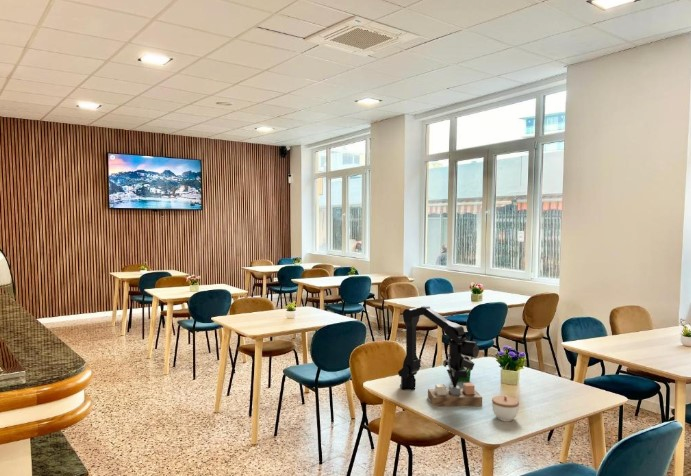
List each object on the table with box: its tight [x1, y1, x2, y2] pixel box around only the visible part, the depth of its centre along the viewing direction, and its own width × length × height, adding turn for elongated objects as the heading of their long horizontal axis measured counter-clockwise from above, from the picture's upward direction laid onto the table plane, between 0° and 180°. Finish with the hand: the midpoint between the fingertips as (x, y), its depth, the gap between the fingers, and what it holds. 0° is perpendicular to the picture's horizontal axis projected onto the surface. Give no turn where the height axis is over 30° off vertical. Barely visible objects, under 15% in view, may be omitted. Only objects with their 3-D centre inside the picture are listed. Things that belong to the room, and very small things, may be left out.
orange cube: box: [462, 382, 475, 395], centre depth 222 cm, size 4×4×4 cm
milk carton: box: [458, 354, 472, 382], centre depth 253 cm, size 9×9×20 cm
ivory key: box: [434, 383, 447, 395], centre depth 221 cm, size 4×4×4 cm
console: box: [427, 388, 483, 408], centre depth 222 cm, size 22×11×4 cm, turn 94°
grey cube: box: [448, 384, 461, 395], centre depth 222 cm, size 4×4×4 cm
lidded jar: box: [491, 395, 520, 422], centre depth 204 cm, size 11×11×9 cm
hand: (454, 387), depth 222 cm, fingers closed, pressing on grey cube
